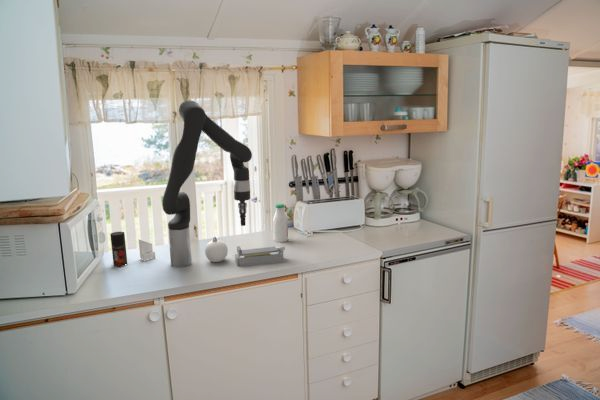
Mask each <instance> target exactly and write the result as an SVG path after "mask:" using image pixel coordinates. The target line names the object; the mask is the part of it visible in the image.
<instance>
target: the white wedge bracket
mask: <svg viewBox="0 0 600 400" xmlns="http://www.w3.org/2000/svg"><path fill="white" fill-rule="evenodd" d="M138 248H139V257H140V258H141V259H143V260H146V261H148V260H147V259H150V260H152V259H151V258H153V259H155V258H156V252H155V251H154V250H153V249H154V247H153V243H150V242H148V241H145V240H142V239H138ZM154 257H155V258H154ZM141 259H140V260H141ZM143 260H142V261H143Z"/></svg>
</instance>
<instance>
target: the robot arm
mask: <svg viewBox="0 0 600 400" xmlns="http://www.w3.org/2000/svg"><path fill="white" fill-rule="evenodd" d="M178 113H179V117H180V118H181V121H183V131H182V136H181V138H180V141H179V143H177V145H176V147H175V149H174V152H173V155H172V160H171V165H170V172H169V176H168V180H167V184H166V187H165V190H164V194H163V197H162V201H161V203H162V210H163V212H164V213H165V214H166V215H171V216H172V215H174V217H172V218H171V219H170V220H169V221H168V222H167V228H168V239H169V240H168V241H169V254H170V267H172V268H174V267H175V268H182V267H187V266H189V265H192V248H191V245H192V244H191V234H190V233H191V232H190V222H191V201H190V198H189V195H188V194H187V193H186V192H184V191H181V189H182V186H183V185H184V183H185V182H187V180H188V178H189V177H190V175H191V174H192V173H193V170H194V167H195V163H196V157H197V152H198V146H199V143H200V142H199V141H200V138H201V135H202V132H203V133H204V134H205V135H206V136H207V137H208V138H209V139H210V140H211V141H212V142H213V143H214V144H215V145H217V146H218V147H219V148H220V149H222V150H223V151H224V152H226V153H228V154H229V159H230V163H231V167H232V170H233V199H234V200H235V201H239V202H238V203H237V204H238V205H237V206H238V213H239V218H240V226H242V227H244V226H246V217H247V216H246V214H247V207H248V204H247V202H246V201H249V200H250V199H251V183H250V170H249V167H247V166H245V164H244V163H248V162H250V161H251V160H252V157H253V153H252V150H251V149H250V148H249V147H248V146H247V145H246V144H244V143H242V142H241V141H239V140H237V139H235V138H234V137H233V136H232V135H231V134H229V132H227V131H226V130H225V129H224V128H222V127H221V126H220V125H219V124H217V123H216V122H215V121H214V120H212V119H211V118H210V117H209V115H207V114H206V111H205V109H204V108H203V107H202V106H201V105H200V104H199V103H198V102H197V101H195V100H187V99H186V100H183V102H182V103H180V105H179V107H178Z"/></svg>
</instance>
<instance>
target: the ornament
mask: <svg viewBox="0 0 600 400" xmlns="http://www.w3.org/2000/svg"><path fill="white" fill-rule="evenodd" d="M228 251H229V250H228V246H227V244H226V243H225V242H224V241H223V240H220V239H217V237H216V236H213V238H212V240H211V241H209V242H208V243H207V244H206V246H205V249H204V254H205V256H206V259H207V260H209V261H210V262H213V263H221V262H223V261H224V260H226V258H227V256H228V253H229V252H228Z"/></svg>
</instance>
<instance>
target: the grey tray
mask: <svg viewBox="0 0 600 400" xmlns="http://www.w3.org/2000/svg"><path fill="white" fill-rule="evenodd" d="M270 254H271V255H262V256H253V257H244V256H239V255H238V253H234V254H233V255H232V257H233V259H234V261H235V264H236V266H237V267H245V266H253V265H263V264H272V263H281V262H285V261H286V260H285V259H284V250H282V251H278V252H273V253H270ZM245 256H246V255H245Z"/></svg>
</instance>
